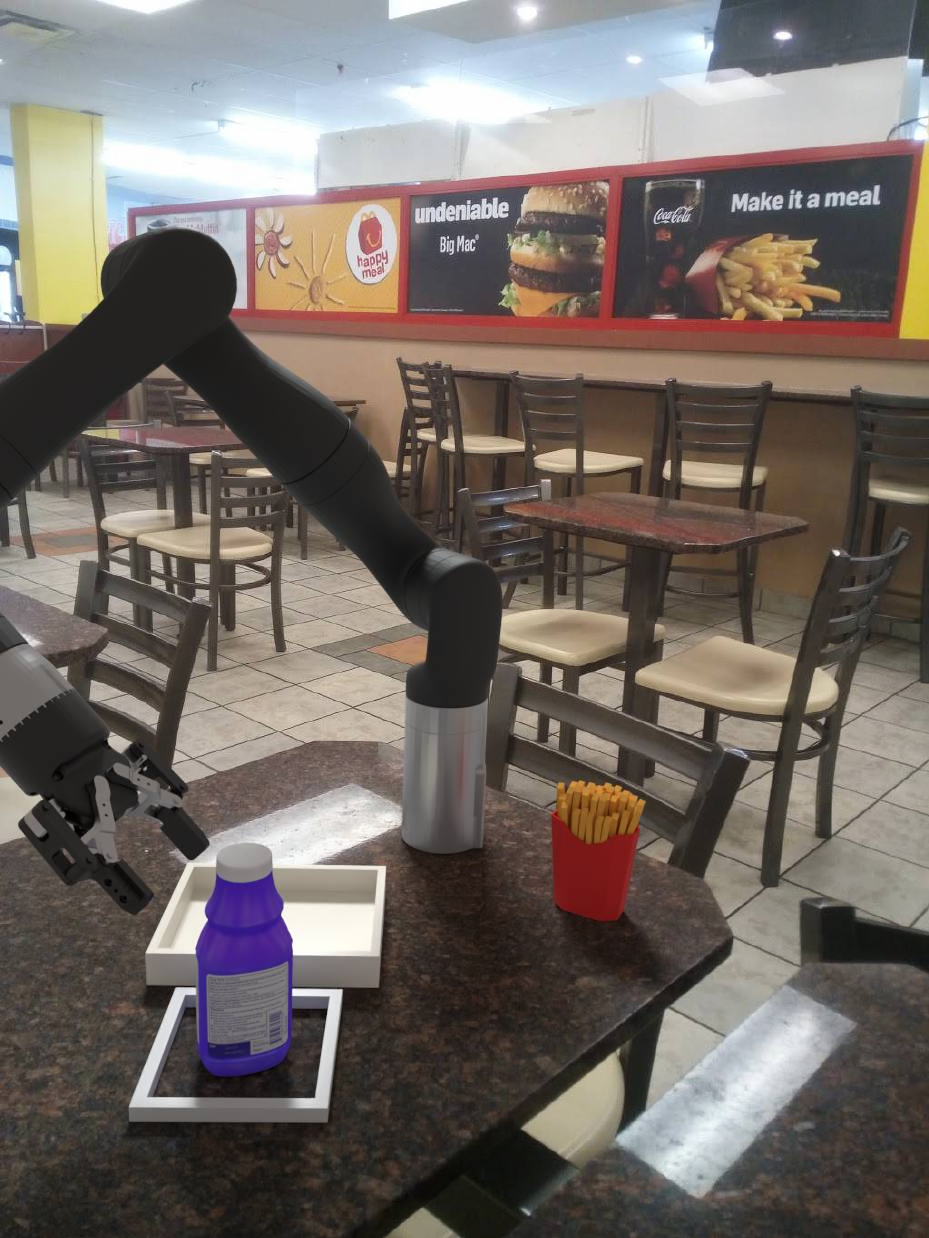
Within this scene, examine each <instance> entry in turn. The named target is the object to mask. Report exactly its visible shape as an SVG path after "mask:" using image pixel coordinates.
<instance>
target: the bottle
mask: <svg viewBox="0 0 929 1238" xmlns="http://www.w3.org/2000/svg"><path fill="white" fill-rule="evenodd" d="M215 859H216V862H215V863H216V882H215V887H214V891H213V894H212V896H211V897H210V899H209V900H208V902H207V904H206V906H205V915H206V918H207V919H208V920H207V922H206V924H205V926H204V927H203V929H202V931H201V933H200V936H199V939H198V941H197V945H196V948H195V950H196V986H195V988H196V1007H195V1008H196V1009H195V1011H196V1015H195V1016H196V1017H195V1018H196V1019H195V1020H196V1047H197V1052H198V1054H199V1056H200V1059H201V1062H202V1064H203V1066H204V1067H205V1069H206V1070H207V1071H208V1072H209V1073H211V1074H212V1076H217V1077H225V1078H226V1077H240V1076H245V1075H246V1076H247V1075H250V1074H251V1075H252V1074H256V1073H259V1072H262V1071H267V1070H269V1069H271V1068H273V1067H276V1066H278V1065H279V1064H281V1063H283V1061H284V1059H285V1057H286V1055H287V1053H288V1052H289V1048H290V1047H291V1046H290V1045H291V1041H292V1035H293V1034H292V1030H293V1022H292V1021H293V1020H292V1018H293V1008H292V989H293V987H292V973H293V948H292V943H293V939H292V936H291V934H290V932H289V931H288V928H287V926H286V923H285V921H284V919H283V918H282V915H281V913H282V911H283V908H284V901H283V899H282V898H281V896H280V895H279V893H278V892H277V889H276V887H275V883H274V879H273V871H272V869H273V864H274V863H273V853H272V850H271V849H270V848H269V847H268V846H265V845H264V844H262V843H257V842H238V843H233V844H229V845H227V846H224V847H223V848H222V849H220V850H219V851H218V852H217V853H216V858H215Z"/></svg>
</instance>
